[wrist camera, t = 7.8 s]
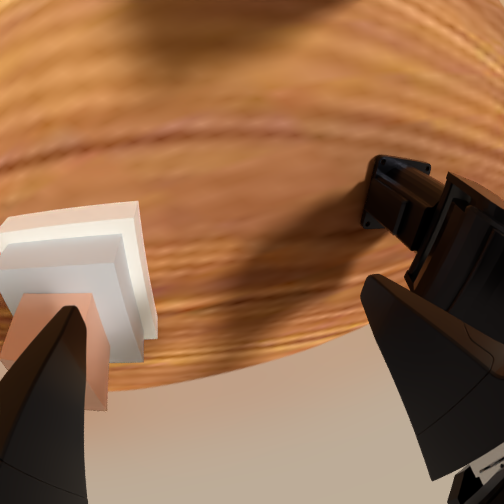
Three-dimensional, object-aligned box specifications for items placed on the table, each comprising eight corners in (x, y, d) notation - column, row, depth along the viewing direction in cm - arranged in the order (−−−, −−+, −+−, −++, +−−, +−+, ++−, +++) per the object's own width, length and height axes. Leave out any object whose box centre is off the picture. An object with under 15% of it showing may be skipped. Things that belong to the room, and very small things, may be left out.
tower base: (139, 197, 18) (133, 217, 15) (157, 312, 24) (157, 338, 22) (11, 213, 15) (-7, 234, 13) (51, 316, 21) (44, 340, 19)
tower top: (121, 233, 16) (113, 262, 13) (144, 331, 21) (143, 362, 18) (8, 243, 14) (-10, 270, 11) (48, 333, 19) (41, 360, 16)
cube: (91, 292, 14) (77, 366, 10) (110, 346, 17) (107, 411, 13) (23, 293, 13) (-2, 358, 9) (49, 345, 15) (38, 404, 12)
